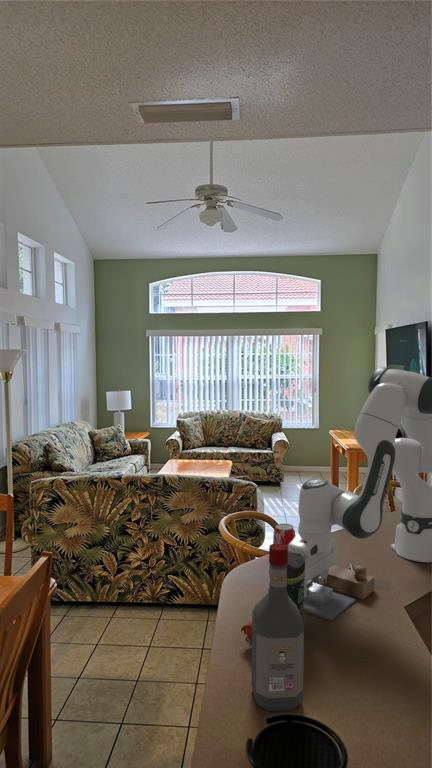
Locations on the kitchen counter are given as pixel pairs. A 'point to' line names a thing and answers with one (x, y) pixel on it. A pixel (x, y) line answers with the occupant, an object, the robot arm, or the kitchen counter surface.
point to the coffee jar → (296, 580)
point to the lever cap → (319, 593)
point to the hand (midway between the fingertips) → (313, 589)
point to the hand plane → (349, 581)
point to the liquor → (277, 641)
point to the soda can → (283, 534)
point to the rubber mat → (329, 606)
